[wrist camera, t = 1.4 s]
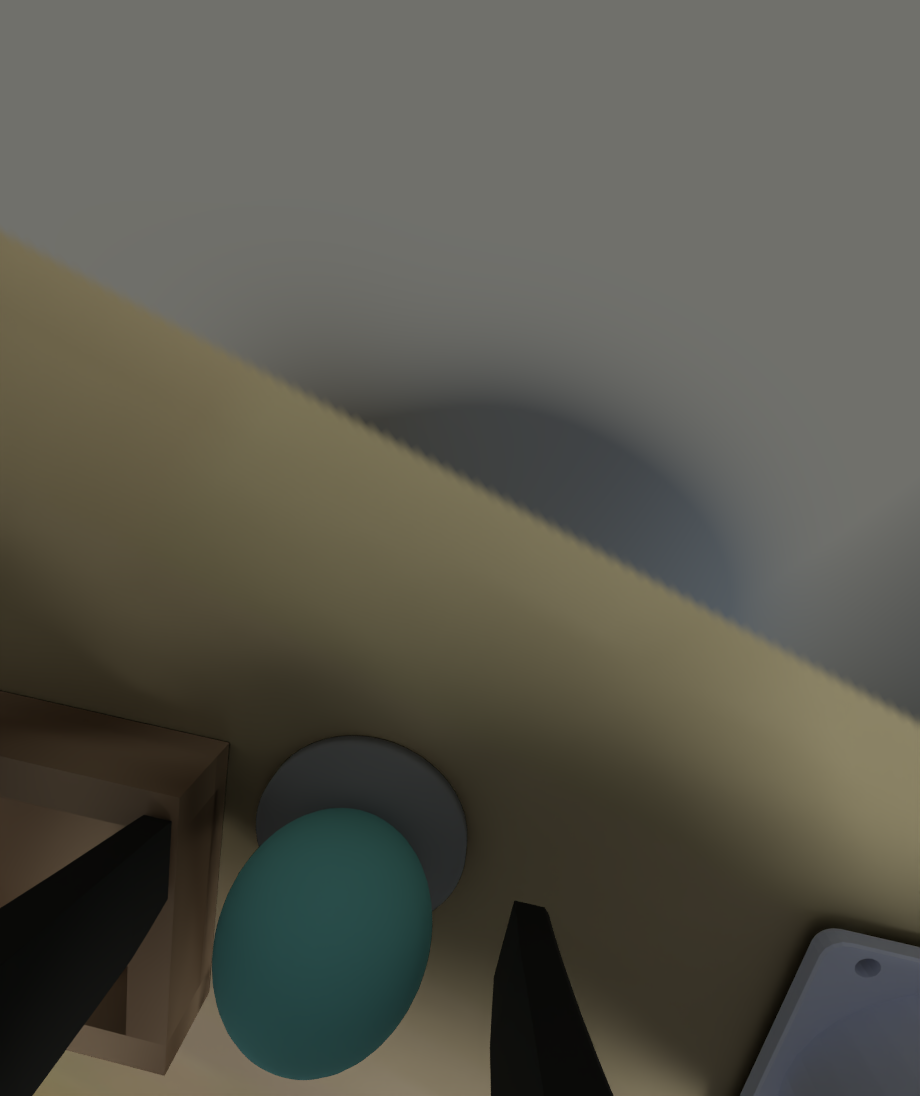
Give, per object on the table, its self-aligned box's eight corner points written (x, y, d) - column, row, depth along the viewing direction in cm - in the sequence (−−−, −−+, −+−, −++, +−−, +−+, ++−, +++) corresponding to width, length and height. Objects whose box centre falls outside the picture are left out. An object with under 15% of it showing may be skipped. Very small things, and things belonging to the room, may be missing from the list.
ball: (458, 788, 11) (432, 989, 7) (428, 927, 12) (390, 1173, 8) (284, 748, 11) (162, 922, 7) (269, 888, 12) (152, 1111, 8)
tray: (229, 742, 11) (179, 798, 10) (209, 991, 13) (164, 1075, 12) (-159, 654, 12) (-273, 691, 10) (-126, 907, 14) (-217, 975, 12)
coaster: (486, 762, 11) (485, 774, 11) (447, 931, 12) (445, 948, 12) (274, 715, 11) (265, 724, 11) (255, 885, 12) (247, 900, 12)
